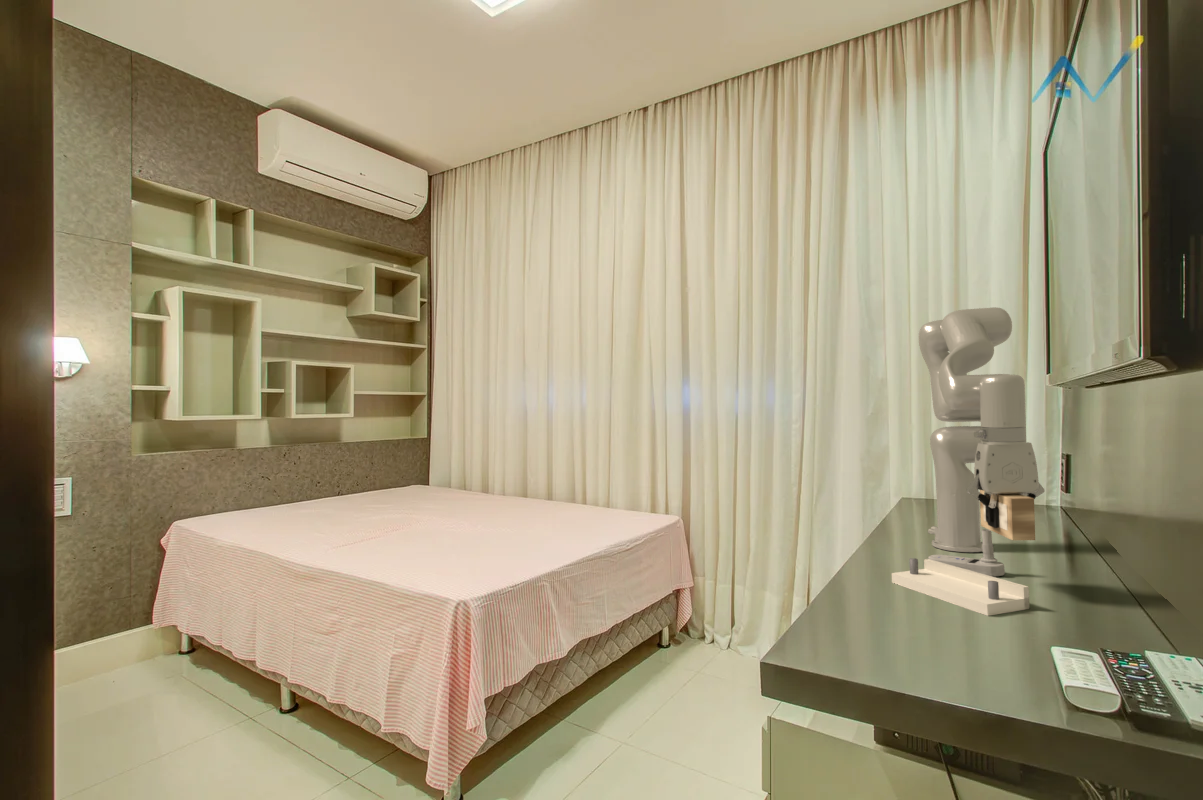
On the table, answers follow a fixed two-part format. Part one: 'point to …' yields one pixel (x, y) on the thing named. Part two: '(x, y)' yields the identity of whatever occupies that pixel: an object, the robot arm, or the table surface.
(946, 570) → the ledge
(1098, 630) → the table surface
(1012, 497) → the tan wooden block
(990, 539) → the electronic device
